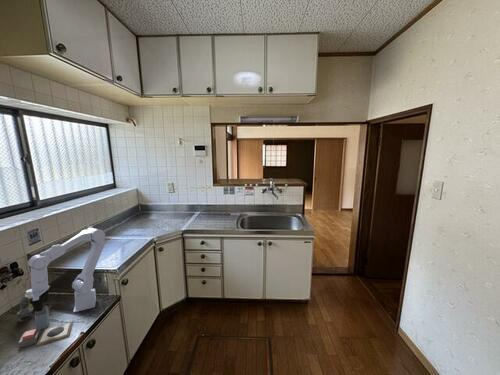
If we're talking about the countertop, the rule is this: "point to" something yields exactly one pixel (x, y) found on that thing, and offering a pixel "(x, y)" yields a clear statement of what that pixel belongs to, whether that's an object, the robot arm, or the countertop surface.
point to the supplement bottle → (29, 297)
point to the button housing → (29, 340)
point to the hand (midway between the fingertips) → (41, 306)
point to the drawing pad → (54, 333)
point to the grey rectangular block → (42, 318)
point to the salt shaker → (25, 310)
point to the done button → (29, 334)
